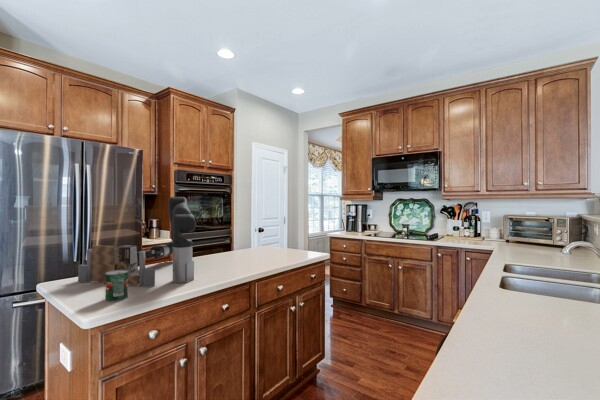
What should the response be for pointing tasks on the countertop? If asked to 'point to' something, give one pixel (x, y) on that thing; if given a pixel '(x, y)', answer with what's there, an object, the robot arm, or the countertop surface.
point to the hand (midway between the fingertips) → (140, 256)
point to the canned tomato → (116, 285)
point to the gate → (106, 264)
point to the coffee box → (127, 259)
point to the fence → (144, 274)
